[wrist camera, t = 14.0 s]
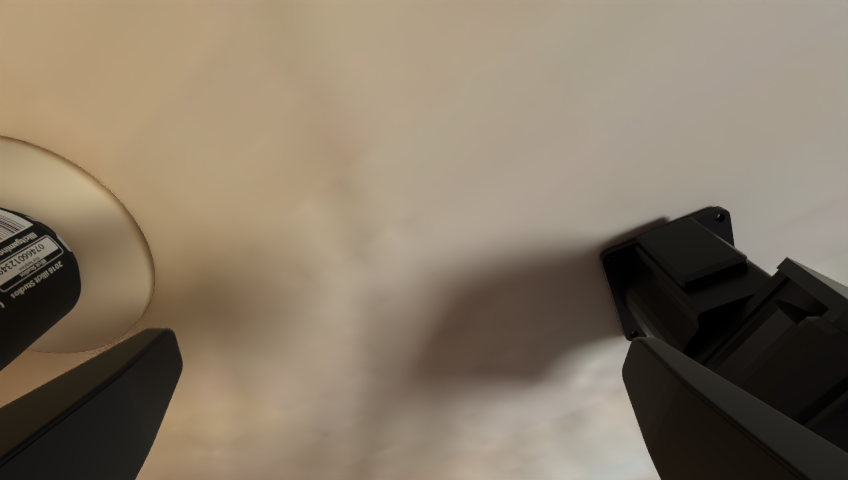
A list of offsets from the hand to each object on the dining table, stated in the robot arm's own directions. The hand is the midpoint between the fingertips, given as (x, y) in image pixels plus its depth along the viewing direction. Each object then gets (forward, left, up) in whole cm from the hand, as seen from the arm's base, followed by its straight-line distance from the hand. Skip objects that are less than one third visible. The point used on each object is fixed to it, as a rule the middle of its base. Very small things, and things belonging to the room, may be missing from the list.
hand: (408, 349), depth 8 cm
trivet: (+4, +19, -13) cm, 24 cm away
